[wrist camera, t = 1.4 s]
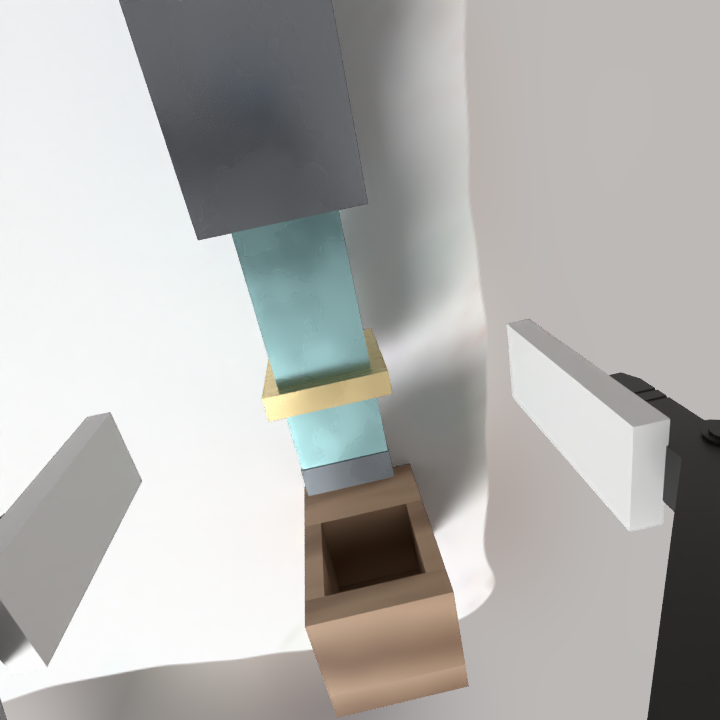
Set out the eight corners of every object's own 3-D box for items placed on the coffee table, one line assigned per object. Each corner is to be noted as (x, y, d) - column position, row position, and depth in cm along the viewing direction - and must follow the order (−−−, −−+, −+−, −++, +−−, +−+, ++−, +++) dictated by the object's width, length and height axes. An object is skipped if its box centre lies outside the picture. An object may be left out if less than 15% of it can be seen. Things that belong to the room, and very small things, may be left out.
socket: (304, 487, 36) (304, 627, 25) (409, 463, 36) (453, 592, 25) (327, 565, 39) (337, 717, 29) (424, 543, 39) (468, 686, 29)
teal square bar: (114, -175, 18) (36, -311, 13) (266, -205, 18) (251, -351, 13) (297, 443, 29) (296, 507, 24) (390, 422, 30) (408, 481, 24)
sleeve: (125, -161, 21) (-17, -412, 12) (272, -190, 21) (248, -461, 12) (233, 210, 28) (197, 240, 18) (345, 186, 28) (367, 203, 18)
